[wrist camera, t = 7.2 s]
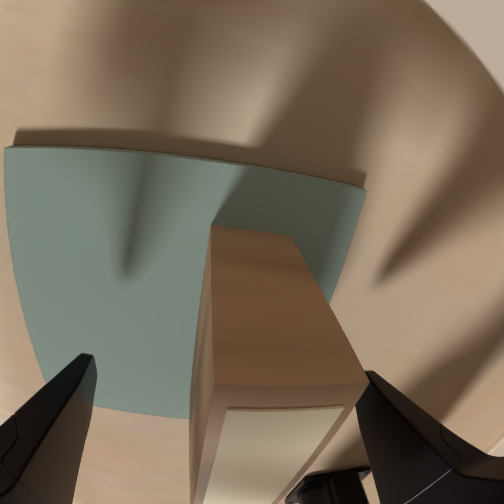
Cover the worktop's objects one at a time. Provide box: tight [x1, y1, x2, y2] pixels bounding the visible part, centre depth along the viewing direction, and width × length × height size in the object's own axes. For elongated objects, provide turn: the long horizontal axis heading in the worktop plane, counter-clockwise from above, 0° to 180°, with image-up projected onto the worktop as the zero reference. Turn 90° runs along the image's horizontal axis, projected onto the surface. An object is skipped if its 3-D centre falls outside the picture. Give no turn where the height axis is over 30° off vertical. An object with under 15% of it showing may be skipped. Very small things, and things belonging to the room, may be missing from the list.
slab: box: [189, 225, 370, 504], centre depth 9 cm, size 8×2×6 cm, turn 168°
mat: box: [4, 145, 366, 419], centre depth 11 cm, size 12×12×1 cm
